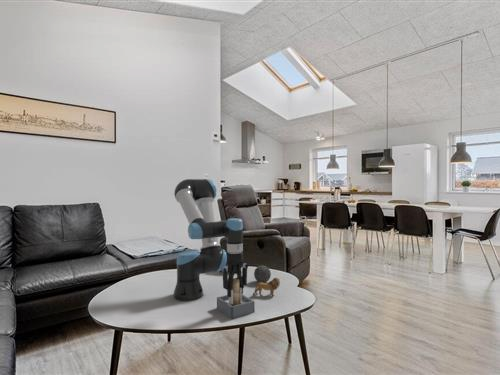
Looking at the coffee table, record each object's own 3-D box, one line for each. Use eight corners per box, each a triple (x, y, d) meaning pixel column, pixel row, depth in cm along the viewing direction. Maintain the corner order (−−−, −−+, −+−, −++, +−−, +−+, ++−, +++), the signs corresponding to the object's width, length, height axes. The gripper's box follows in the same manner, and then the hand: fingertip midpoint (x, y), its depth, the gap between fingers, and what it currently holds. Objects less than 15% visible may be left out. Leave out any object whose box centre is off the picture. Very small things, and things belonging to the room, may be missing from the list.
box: (216, 307, 139) (216, 297, 139) (238, 302, 146) (238, 292, 146) (231, 318, 127) (231, 307, 127) (254, 312, 134) (254, 301, 134)
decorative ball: (256, 285, 170) (256, 268, 170) (252, 280, 180) (252, 264, 180) (273, 284, 172) (272, 267, 172) (268, 279, 182) (267, 263, 182)
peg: (229, 304, 137) (229, 278, 137) (236, 302, 139) (236, 277, 139) (233, 307, 134) (233, 280, 134) (241, 305, 136) (241, 279, 136)
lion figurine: (278, 292, 159) (278, 276, 159) (281, 296, 153) (280, 279, 153) (251, 294, 157) (251, 277, 157) (253, 297, 152) (253, 280, 151)
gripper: (222, 256, 129) (223, 309, 129) (254, 251, 138) (254, 300, 138) (214, 253, 135) (215, 303, 135) (245, 248, 144) (246, 295, 144)
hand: (235, 302), depth 137 cm, fingers closed on peg, 4 cm apart
